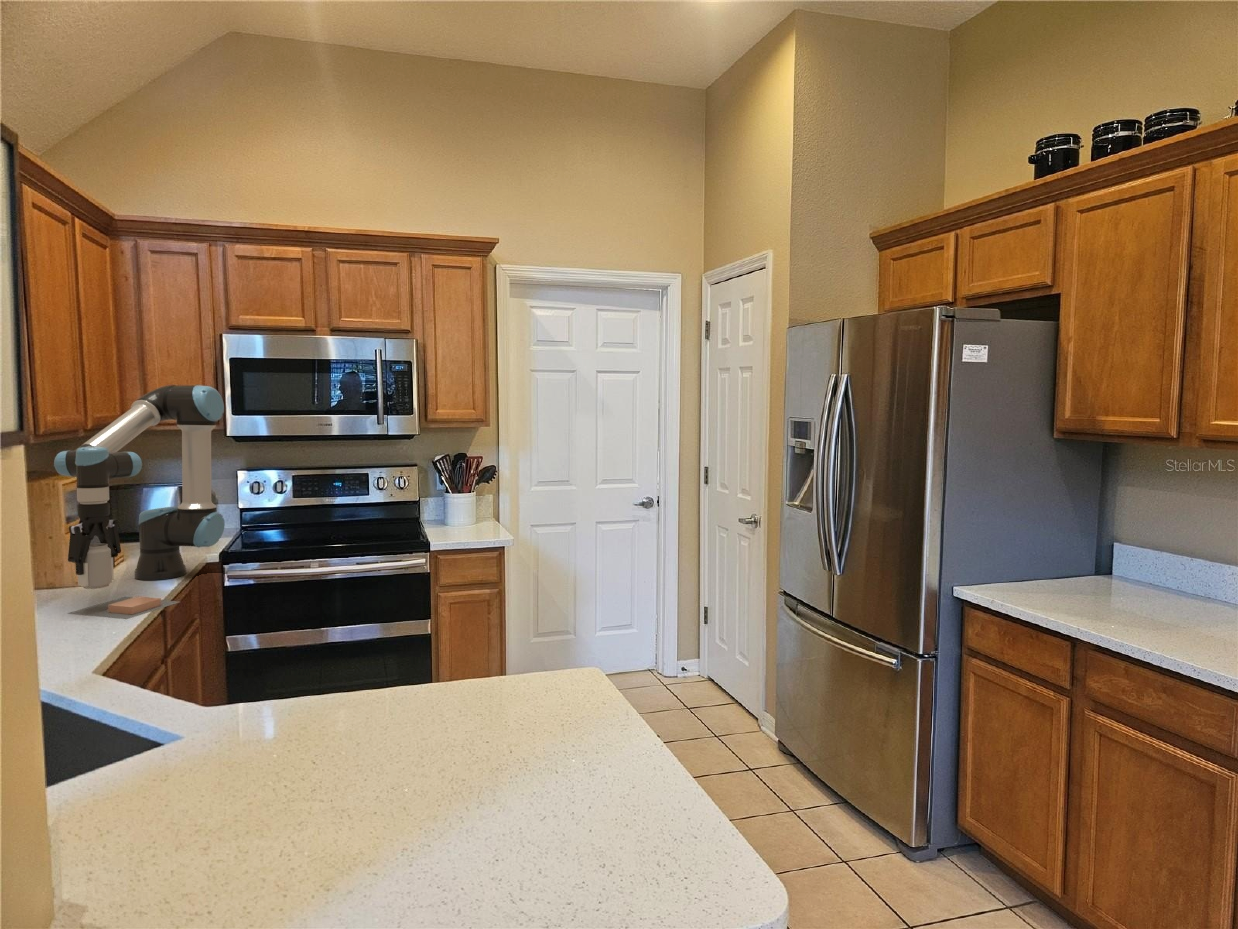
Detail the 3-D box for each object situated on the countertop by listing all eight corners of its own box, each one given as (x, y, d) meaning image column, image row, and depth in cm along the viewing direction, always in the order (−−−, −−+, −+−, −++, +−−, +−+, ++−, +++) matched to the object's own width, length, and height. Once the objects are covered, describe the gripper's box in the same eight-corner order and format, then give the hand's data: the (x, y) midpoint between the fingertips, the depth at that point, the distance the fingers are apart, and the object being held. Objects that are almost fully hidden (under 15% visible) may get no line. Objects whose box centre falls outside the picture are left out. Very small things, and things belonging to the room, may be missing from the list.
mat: (125, 598, 233) (125, 596, 233) (181, 603, 229) (180, 601, 229) (67, 615, 215) (66, 613, 215) (126, 621, 210) (126, 619, 210)
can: (118, 584, 222) (117, 542, 221) (98, 590, 215) (96, 547, 214) (94, 583, 223) (92, 541, 222) (73, 589, 215) (71, 546, 214)
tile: (138, 596, 226) (108, 605, 216) (160, 598, 224) (131, 607, 214) (138, 603, 226) (108, 612, 216) (161, 605, 224) (132, 614, 215)
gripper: (113, 497, 228) (116, 574, 229) (48, 506, 208) (51, 590, 210) (134, 498, 226) (137, 576, 228) (71, 507, 206) (74, 591, 208)
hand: (96, 582), depth 219 cm, fingers closed on can, 7 cm apart
